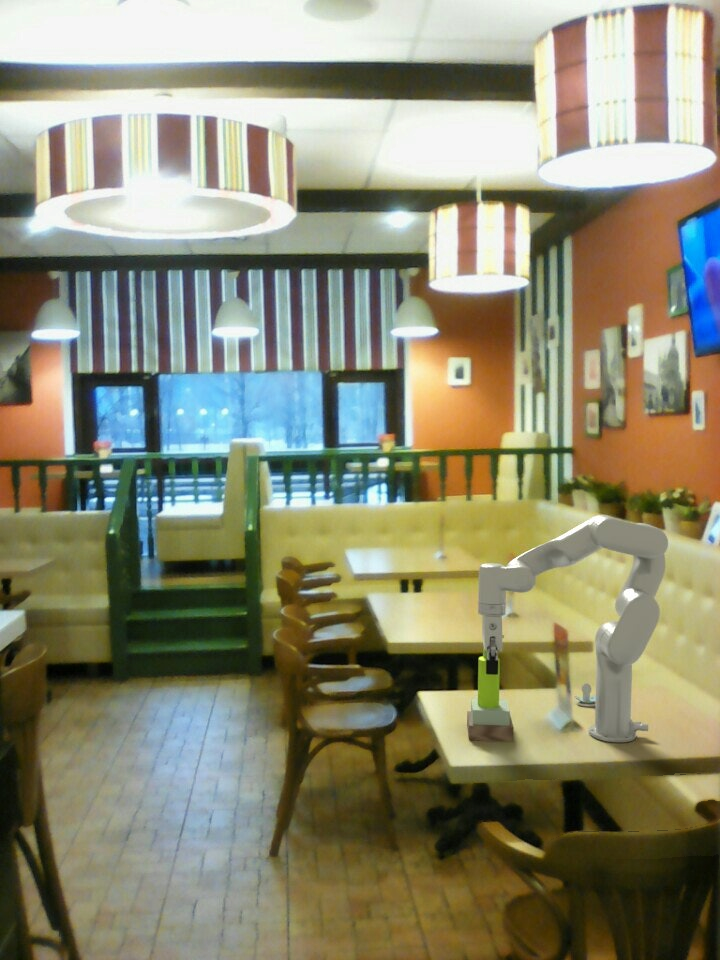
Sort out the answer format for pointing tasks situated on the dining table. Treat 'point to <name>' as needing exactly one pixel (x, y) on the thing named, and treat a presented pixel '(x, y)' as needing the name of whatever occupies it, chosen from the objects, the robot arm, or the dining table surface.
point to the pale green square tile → (490, 714)
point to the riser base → (489, 731)
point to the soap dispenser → (487, 684)
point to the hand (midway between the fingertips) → (490, 669)
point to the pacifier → (586, 697)
